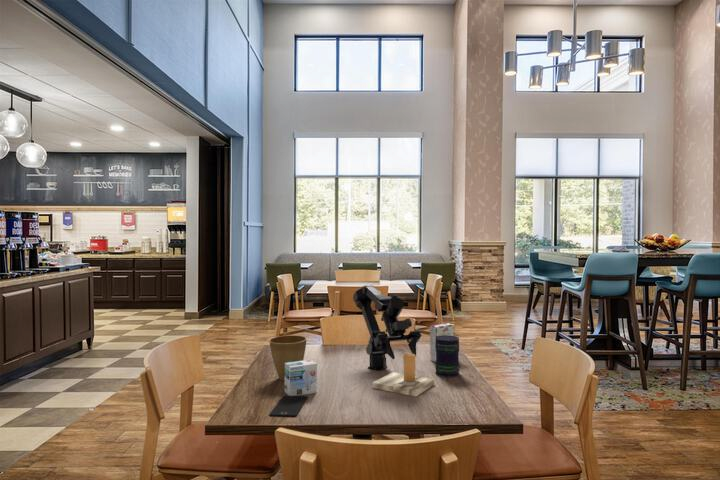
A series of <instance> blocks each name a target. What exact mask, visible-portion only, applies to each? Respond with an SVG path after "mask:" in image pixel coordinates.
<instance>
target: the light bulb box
mask: <svg viewBox="0 0 720 480" xmlns="http://www.w3.org/2000/svg"><path fill="white" fill-rule="evenodd" d="M317 369H318V363H316V362H315V361H313V360H312V359H306V360H305V359H303V361H296V362H289V363H285V381H284V393H286V394H287V396H306V395H310V394H317V393H318V391H317V389H318V386H317V384H318V381H317V380H318V379H317V378H318V377H317V376H318V375H317V374H318V370H317Z"/></svg>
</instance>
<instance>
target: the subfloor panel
mask: <svg viewBox="0 0 720 480" xmlns="http://www.w3.org/2000/svg"><path fill="white" fill-rule="evenodd" d="M434 385H435V379H434V378H429V377H425V376H424V377H423V376H422V377H421V376H419V375H417V376H416V375H415V386H414V387H412V386H407V385H404V373H400V372H394V371H392V372H390V373H389V374H386V375H385V376H383V377H381V378H379V379H377V380H374V381H373V382H372V389H377V390H381V391H387V392H391V393H395V394H399V395H407V396H411V397H418V396H419V395H421V394H422V393H423V392H425V391H427V390H428V389H430V388H431V387H433V386H434Z"/></svg>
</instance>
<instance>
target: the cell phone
mask: <svg viewBox="0 0 720 480" xmlns="http://www.w3.org/2000/svg"><path fill="white" fill-rule="evenodd" d="M308 399H309V398H308V396H307V395H298V396H289V395H283V396H281V398H280V400H278V402H277V403H276V404H275V406H274V407H273V409H272V410H271V411H270V412H269V417H279V418H280V417H283V418H297V416H298V415H299V413H300V412H301V410H302V408H303V406H304V405H305V404H306V401H307V400H308Z"/></svg>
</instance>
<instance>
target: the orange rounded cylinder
mask: <svg viewBox="0 0 720 480" xmlns="http://www.w3.org/2000/svg"><path fill="white" fill-rule="evenodd" d="M403 374H404V385H407V386H412V387H414V386H415V376H416V357H415V354H412V353H404V354H403Z"/></svg>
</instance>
